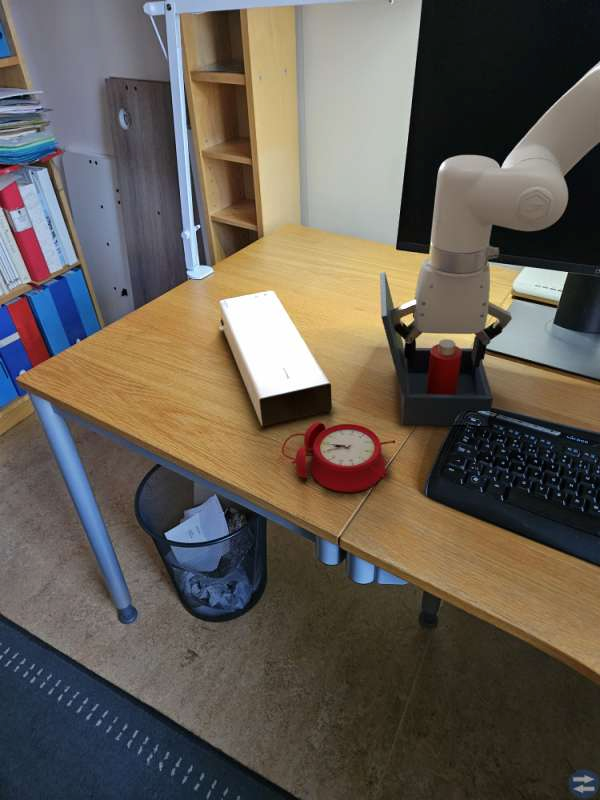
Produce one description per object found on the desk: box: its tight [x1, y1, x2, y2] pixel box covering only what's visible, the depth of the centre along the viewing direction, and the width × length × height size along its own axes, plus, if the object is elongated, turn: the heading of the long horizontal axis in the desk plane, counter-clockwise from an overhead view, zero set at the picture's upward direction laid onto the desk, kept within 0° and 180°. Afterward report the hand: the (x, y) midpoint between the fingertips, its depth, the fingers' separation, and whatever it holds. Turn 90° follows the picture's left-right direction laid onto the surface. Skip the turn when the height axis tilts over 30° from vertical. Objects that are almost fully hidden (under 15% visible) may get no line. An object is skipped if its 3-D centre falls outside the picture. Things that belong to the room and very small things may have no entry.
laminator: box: [218, 289, 333, 428], centre depth 98 cm, size 34×12×6 cm, turn 17°
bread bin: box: [399, 347, 494, 427], centre depth 88 cm, size 13×14×5 cm
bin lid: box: [379, 272, 407, 395], centre depth 83 cm, size 13×14×1 cm
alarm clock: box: [281, 421, 396, 493], centre depth 78 cm, size 10×6×15 cm
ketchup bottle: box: [426, 338, 462, 395], centre depth 86 cm, size 5×5×10 cm
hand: (442, 361), depth 86 cm, fingers open, 9 cm apart
